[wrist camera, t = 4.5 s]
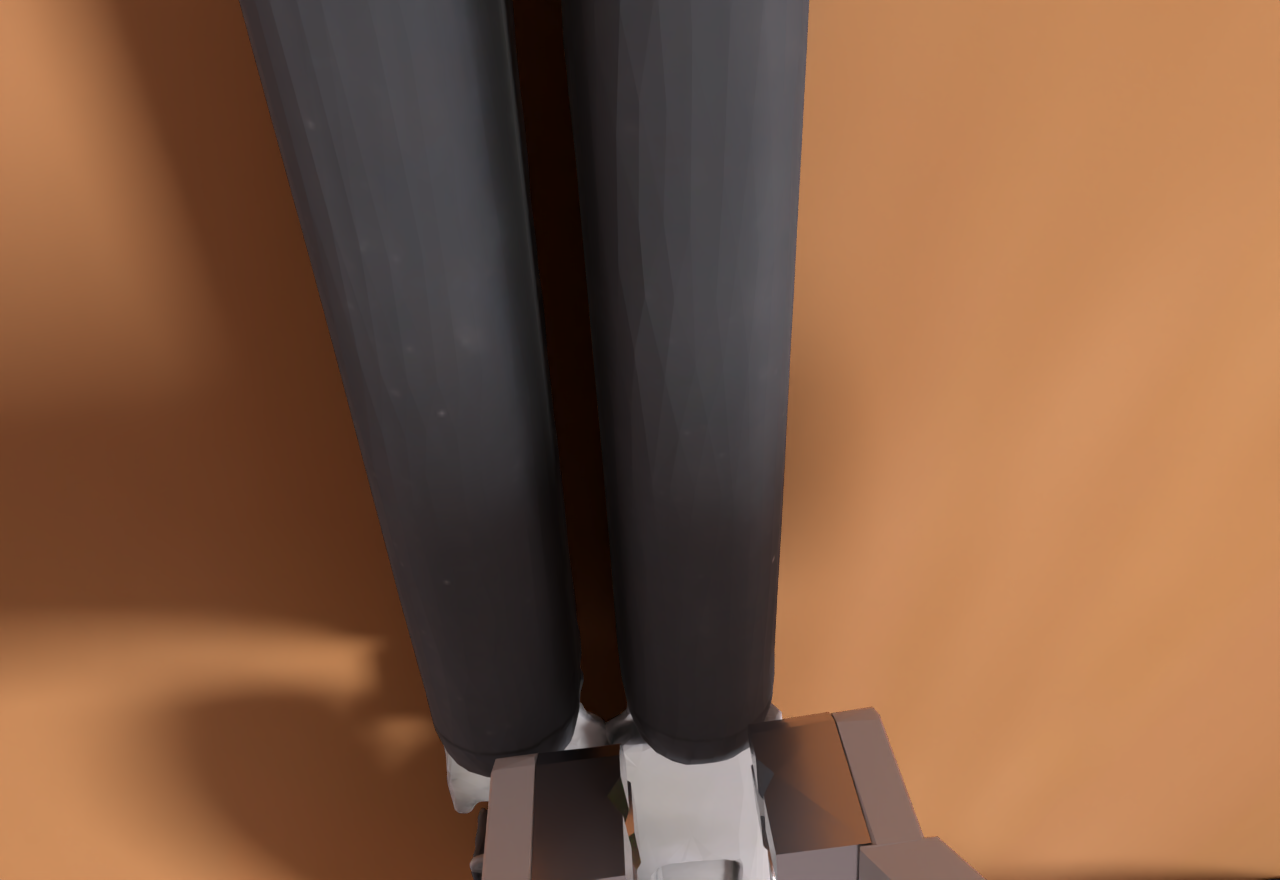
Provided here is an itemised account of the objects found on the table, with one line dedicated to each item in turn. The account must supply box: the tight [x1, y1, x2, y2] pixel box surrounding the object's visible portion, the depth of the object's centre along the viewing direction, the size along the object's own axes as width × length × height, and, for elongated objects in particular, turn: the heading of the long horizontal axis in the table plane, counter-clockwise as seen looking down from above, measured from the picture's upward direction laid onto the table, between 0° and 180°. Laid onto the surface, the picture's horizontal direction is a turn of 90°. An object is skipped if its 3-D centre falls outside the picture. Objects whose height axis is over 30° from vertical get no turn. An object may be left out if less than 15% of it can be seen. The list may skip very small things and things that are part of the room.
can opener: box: [239, 0, 809, 880], centre depth 10 cm, size 19×5×6 cm, turn 3°
